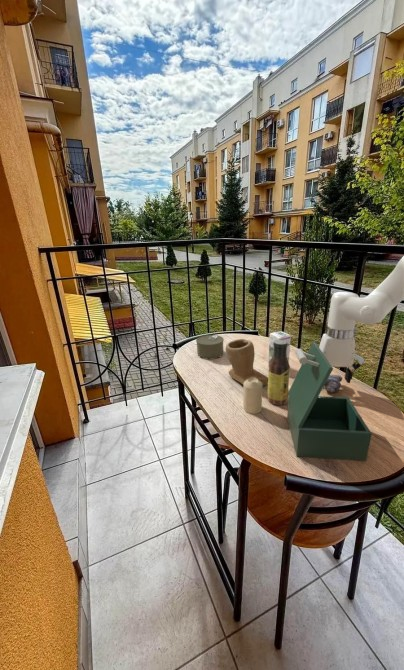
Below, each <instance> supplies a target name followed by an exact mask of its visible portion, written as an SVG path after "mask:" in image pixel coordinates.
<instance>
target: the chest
mask: <svg viewBox="0 0 404 670" xmlns="http://www.w3.org/2000/svg"><path fill="white" fill-rule="evenodd" d="M287 401H288V404H287V413H286V414H287V415H286V420H287V424H288V428H289V431H290V432H289V433H290V436H291V441H292V445H293V448H294V452H295V456H296V458H297V457H298V458H299V457H300V458H313V459H329V460H345V461H359V462H360V461H361V462H366V461H367V458H368V455H369V449H370V444H371V439H372V432H371V430H370V429H369V427H368V426H367V424H366V423H365V421H364V419H363V417H362V416H361V415H360V413H359V411H358V410H357V408H356V406H355V405H354V404H353V402H352V401H351V399H350V397H349V396H348V397H347V396H323V395H319V396H318V398H317V400H316V402H315V403H314V405H313V407H312V409H311V411H310V413H309V415H308V416H307V418H306V420H305V422H304V424H303V426H302V428H301V429H300V428H298V427H297V423H296V420H295V416H294V413H293V410H292V406H291V403H290V399H289V398H288V400H287Z"/></svg>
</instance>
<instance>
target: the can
mask: <svg viewBox="0 0 404 670" xmlns="http://www.w3.org/2000/svg"><path fill="white" fill-rule="evenodd" d="M195 342H196V355H197V354H198V355H197V356H198V357H199V356H200V357H202V358H201V359H203V358H216V359H218V358H217V357H219V358H221V357H223V356H224V337H223V336H221V335H217V334H204V335H200V336H198V337H197V338H196V339H195ZM220 356H221V357H220ZM200 357H199V358H200Z"/></svg>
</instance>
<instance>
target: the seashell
mask: <svg viewBox="0 0 404 670" xmlns="http://www.w3.org/2000/svg"><path fill="white" fill-rule="evenodd" d="M342 381H343V376H341V375H339V374H330V376H329V378H328V379H327V381H326V383H325V385H324V387H323V388H324V389H325V390H327V391H328V392H329V393H336V392H338V391H339V390H340V389H341V387H342V383H341V382H342Z"/></svg>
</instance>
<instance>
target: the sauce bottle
mask: <svg viewBox="0 0 404 670" xmlns="http://www.w3.org/2000/svg"><path fill="white" fill-rule="evenodd" d="M273 346H274V353H273V355H274V356H273V357H272V358H271V360H270V362H269V361H268V364H269V367H268V371H267V373H268V374H267V377H268V383H267V401H268V402H269V403H270V404H272V405H275V406H283V405H284V404H286V403H287V401H288V398H289V396H288V392H289V385H290V371H291V370H290V369H291V366H290V362H289V363H288V359H287V356H286V355H287V354H286V351H287V346H288V343H287V341H284V340H275V341H274V343H273Z"/></svg>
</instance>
